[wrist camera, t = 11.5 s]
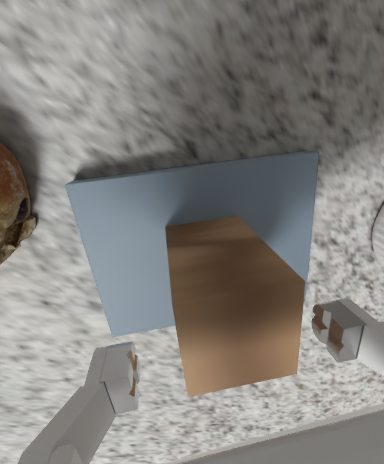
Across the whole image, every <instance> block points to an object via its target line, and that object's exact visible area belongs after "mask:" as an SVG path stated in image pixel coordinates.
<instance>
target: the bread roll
mask: <svg viewBox="0 0 384 464" xmlns="http://www.w3.org/2000/svg"><path fill="white" fill-rule="evenodd" d="M30 208H31V206H30V198H29V193H28V190H27V183H26V181H25V178H24V176H23V173H22V170H21V166H20V164H19V163H18V161H17V159H16V158H15V157H14V156H13V154H12V153H11V152H10V151H9V150H8V149H7V148H6V147H5V146H4V145H3V144H2V143H1V142H0V264H2V263H3V262H4V261H5V260H6V259H7V258H8V257H9V256H11V254H12V253H13V252H14V251H15V250H16V249H17V248H19V247H20V246H21V245H20V243H19V242H20V241H22V240H23V239H24V238H27V237H29V236H30V235H31V233H32V231H33V230H34V228H35V226H36V220H35V217H34V216H31V213H30Z"/></svg>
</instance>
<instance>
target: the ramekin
mask: <svg viewBox="0 0 384 464" xmlns="http://www.w3.org/2000/svg"><path fill="white" fill-rule="evenodd" d="M372 244H373V250H374V253H375V256H376V258H377V260H378V262H379V263H380V264H381V266H382V267H383V268H384V205H383V206H382V208H381V210H380V212H379V214H378V216H377V218H376V221H375V223H374V227H373V232H372Z"/></svg>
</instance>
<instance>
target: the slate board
mask: <svg viewBox="0 0 384 464" xmlns="http://www.w3.org/2000/svg"><path fill="white" fill-rule="evenodd" d="M318 162H319V152H312V151H302V152H294V153H286V154H278V155H271V156H263V157H255V158H247V159H239V160H231V161H224V162H216V163H208V164H200V165H192V166H184V167H177V168H169V169H161V170H153V171H145V172H137V173H130V174H122V175H114V176H106V177H98V178H90V179H83V180H75V181H72V182H70V183H68V184H66V185H65V187H66V191H67V194H68V197H69V200H70V203H71V206H72V210H73V213H74V216H75V219H76V222H77V226H78V229H79V232H80V235H81V238H82V241H83V245H84V248H85V251H86V254H87V257H88V261H89V264H90V267H91V270H92V273H93V276H94V280H95V283H96V286H97V289H98V292H99V296H100V299H101V302H102V305H103V308H104V311H105V315H106V318H107V321H108V324H109V327H110V330H111V334H112V337H116V336H122V335H127V334H132V333H138V332H143V331H148V330H154V329H159V328H165V327H170V326H175V319H174V313H173V307H172V298H171V287H170V276H169V265H168V254H167V244H166V233H165V227H167V226H174V225H180V224H187V223H194V222H200V221H207V220H214V219H221V218H227V217H234V216H238V217H239V218H240V219H241V220H242V221H243V222H244V223H245V224H246V225H247V226H249V227H250V228H251V229H252V230H253V231H254V232H255V233H256V234H257V235H258V236H259V237H260V238H261V239H262V240H263V241H264V242H265V243H266V244H267V245H268V246H269V247H270V248H271V249H272V250H273V251H274V252H275V253H277V254H278V255H279V256H280V257H281V258H282V259H283V260H284V261H285V262H286V263H287V264H288V265H289V266H290V267H291V268H292V269H293V270H294V271H295V272H296V273H297V274H298V275H299V276H300V277H301V278H302V279H303V280H305V291H304V301H305V297H306V287H307V276H308V266H309V255H310V245H311V234H312V224H313V214H314V203H315V193H316V182H317V172H318Z"/></svg>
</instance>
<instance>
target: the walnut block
mask: <svg viewBox="0 0 384 464" xmlns="http://www.w3.org/2000/svg"><path fill="white" fill-rule="evenodd" d="M165 233H166V244H167V254H168V265H169V276H170V287H171V298H172V307H173V313H174V319H175V325H176V330H177V336H178V342H179V348H180V353H181V359H182V365H183V371H184V376H185V382H186V388H187V394H188V397H191V396H195V395H200V394H205V393H209V392H214V391H219V390H223V389H228V388H233V387H237V386H242V385H247V384H251V383H256V382H261V381H265V380H270V379H275V378H279V377H284V376H289V375H293V374H297V366H298V356H299V345H300V334H301V323H302V313H303V302H304V291H305V280H303V279H302V278H301V277H300V276H299V275H298V274H297V273H296V272H295V271H294V270H293V269H292V268H291V267H290V266H289V265H288V264H287V263H286V262H285V261H284V260H283V259H282V258H281V257H280V256H279V255H278V254H277V253H275V252H274V251H273V250H272V249H271V248H270V247H269V246H268V245H267V244H266V243H265V242H264V241H263V240H262V239H261V238H260V237H259V236H258V235H257V234H256V233H255V232H254V231H253V230H252V229H251V228H250V227H249V226H247V225H246V224H245V223H244V222H243V221H242V220H241V219H240V218H239V217H238V216H234V217H227V218H221V219H214V220H207V221H200V222H194V223H187V224H180V225H174V226H167V227H165Z"/></svg>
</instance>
